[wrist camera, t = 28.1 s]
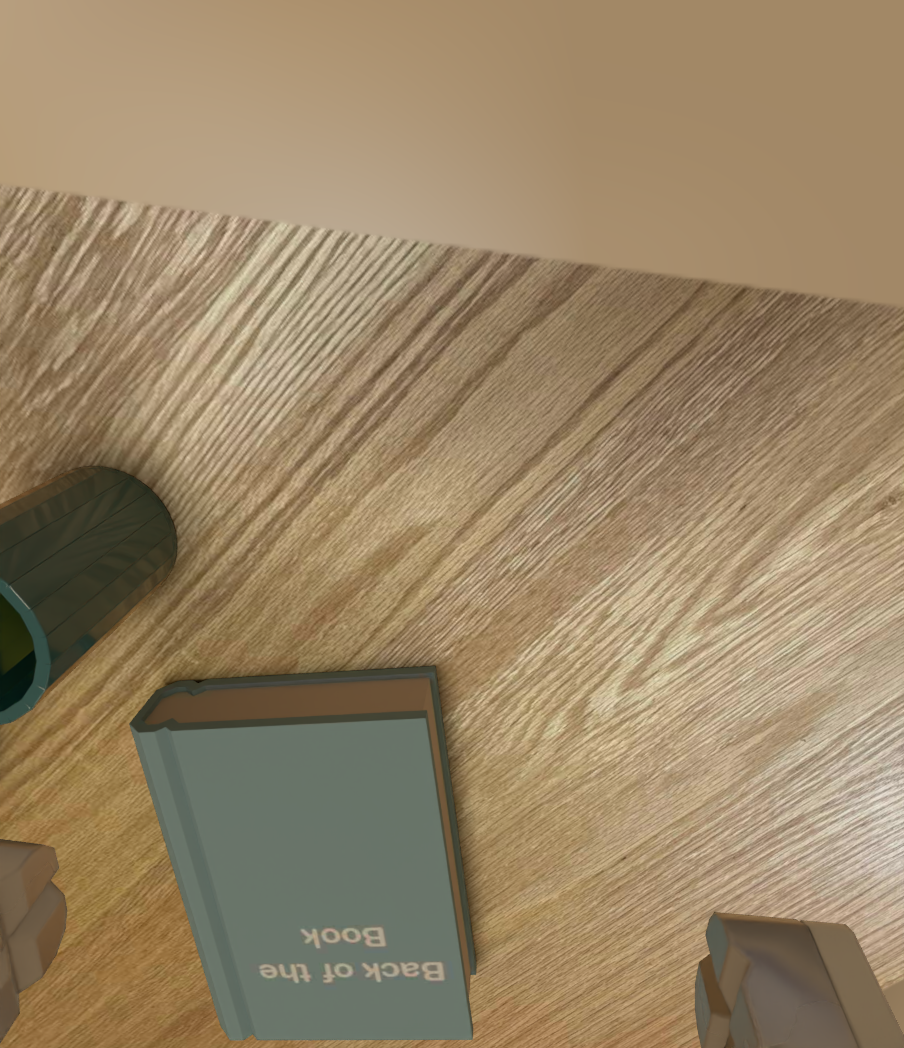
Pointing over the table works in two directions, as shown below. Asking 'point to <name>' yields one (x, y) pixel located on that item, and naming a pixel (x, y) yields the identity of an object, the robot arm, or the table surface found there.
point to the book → (316, 851)
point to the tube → (73, 574)
